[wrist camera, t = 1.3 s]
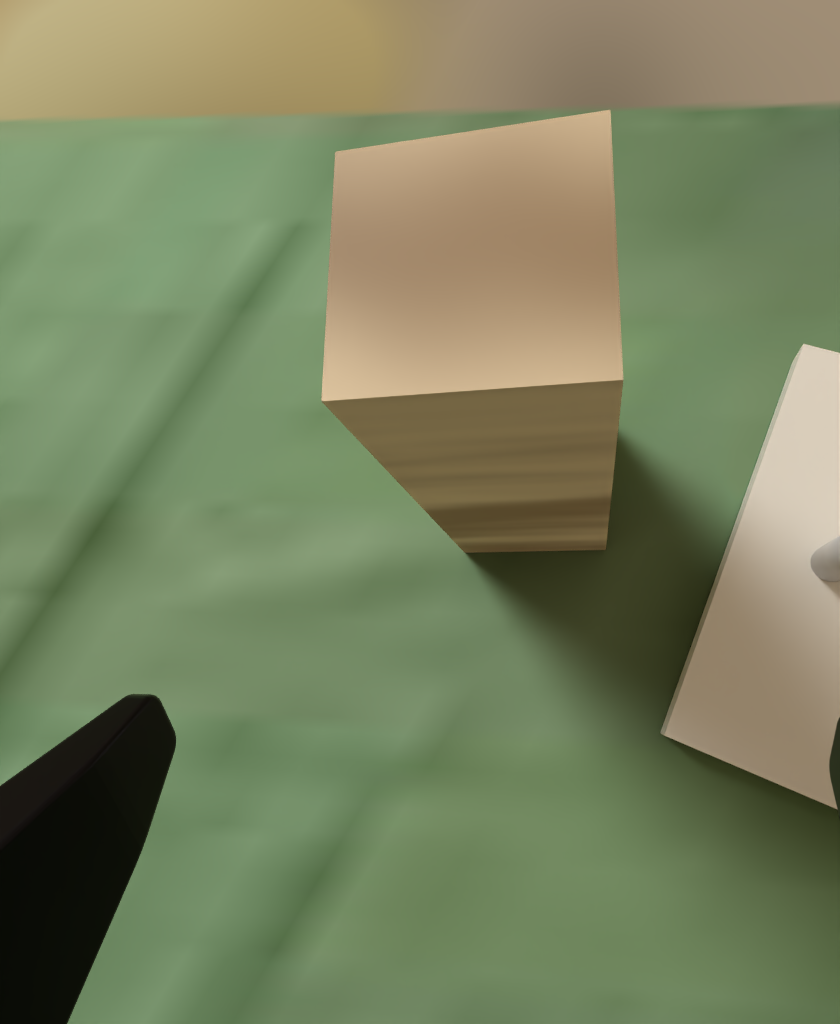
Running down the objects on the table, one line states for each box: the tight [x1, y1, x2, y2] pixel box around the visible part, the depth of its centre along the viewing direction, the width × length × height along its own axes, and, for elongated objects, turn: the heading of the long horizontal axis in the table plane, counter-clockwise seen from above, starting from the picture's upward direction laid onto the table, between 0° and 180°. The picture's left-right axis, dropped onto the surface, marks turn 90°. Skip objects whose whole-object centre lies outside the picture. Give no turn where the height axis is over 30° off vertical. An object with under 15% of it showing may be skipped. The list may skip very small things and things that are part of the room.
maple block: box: [322, 110, 623, 553], centre depth 17 cm, size 4×4×13 cm
